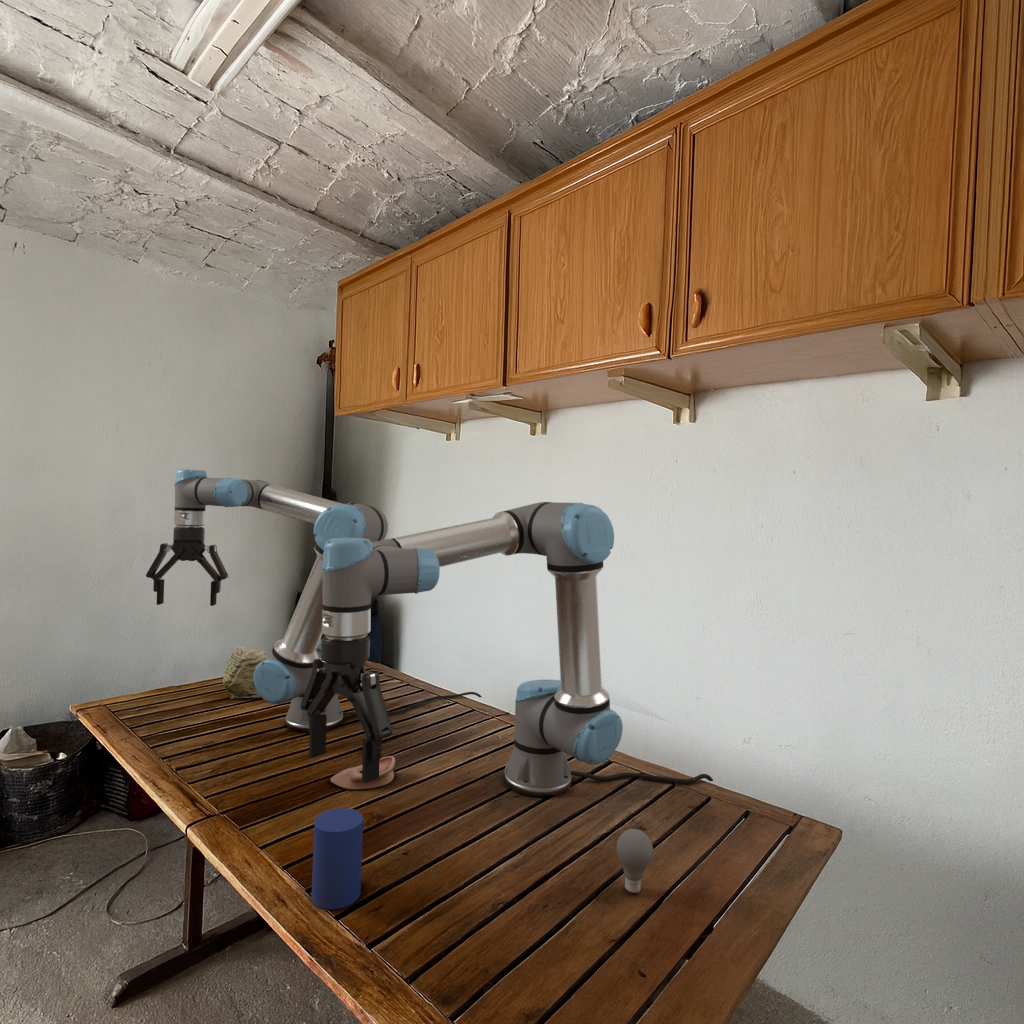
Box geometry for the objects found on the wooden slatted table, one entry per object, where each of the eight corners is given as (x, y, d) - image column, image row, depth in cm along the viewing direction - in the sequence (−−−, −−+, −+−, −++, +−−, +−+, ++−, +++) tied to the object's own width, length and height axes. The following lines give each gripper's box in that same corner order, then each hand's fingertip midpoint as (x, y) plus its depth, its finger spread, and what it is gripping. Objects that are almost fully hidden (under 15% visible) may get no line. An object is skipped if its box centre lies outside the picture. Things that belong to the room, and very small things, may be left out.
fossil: (218, 695, 195) (220, 647, 195) (278, 685, 208) (279, 640, 207) (228, 703, 189) (230, 653, 188) (289, 692, 201) (290, 645, 201)
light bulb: (610, 879, 108) (613, 822, 108) (644, 879, 109) (647, 822, 109) (619, 902, 102) (622, 840, 102) (655, 901, 103) (658, 840, 103)
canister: (319, 915, 96) (322, 836, 96) (305, 888, 103) (308, 814, 102) (367, 900, 100) (370, 824, 100) (351, 875, 107) (354, 803, 107)
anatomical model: (324, 767, 138) (348, 748, 150) (323, 785, 138) (347, 764, 150) (381, 775, 136) (401, 755, 147) (380, 794, 136) (400, 772, 147)
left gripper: (133, 525, 166) (131, 605, 166) (233, 528, 170) (230, 607, 170) (146, 524, 173) (143, 601, 174) (241, 527, 177) (238, 603, 177)
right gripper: (280, 626, 105) (278, 752, 106) (379, 653, 90) (375, 800, 91) (319, 620, 111) (316, 739, 112) (417, 644, 96) (414, 782, 97)
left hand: (186, 604), depth 172 cm, fingers open, 13 cm apart
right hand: (342, 767), depth 101 cm, fingers open, 13 cm apart
